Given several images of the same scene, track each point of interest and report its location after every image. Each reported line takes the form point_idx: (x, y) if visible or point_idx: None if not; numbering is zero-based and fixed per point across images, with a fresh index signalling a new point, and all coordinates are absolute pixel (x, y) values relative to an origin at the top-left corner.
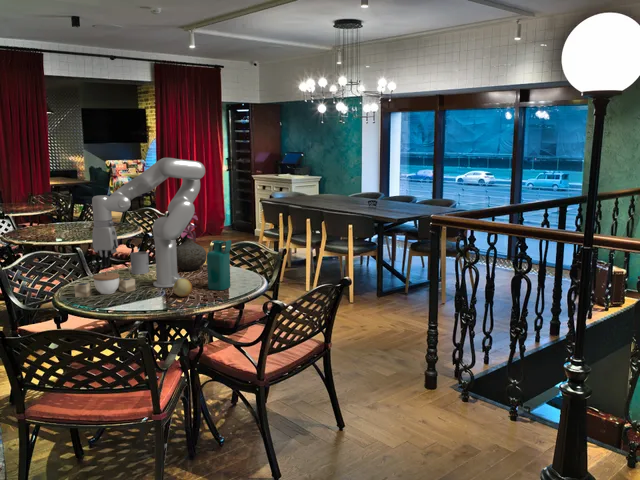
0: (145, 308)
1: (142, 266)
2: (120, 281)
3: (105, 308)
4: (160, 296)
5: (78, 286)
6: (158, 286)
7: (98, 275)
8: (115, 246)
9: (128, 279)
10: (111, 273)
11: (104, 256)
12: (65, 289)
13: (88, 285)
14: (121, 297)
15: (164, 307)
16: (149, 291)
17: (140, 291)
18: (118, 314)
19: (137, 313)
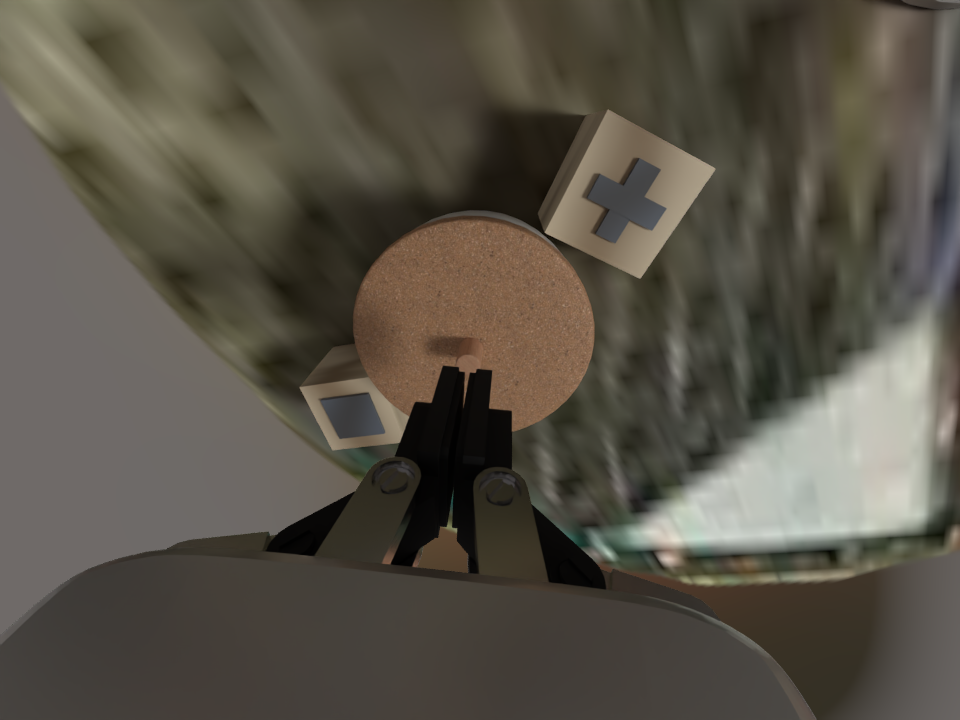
0: (828, 522)
1: None
2: (570, 243)
3: (630, 534)
4: (918, 321)
5: (358, 444)
6: (918, 3)
7: (405, 370)
8: (685, 668)
9: (653, 218)
10: (478, 270)
11: (437, 516)
12: (135, 257)
13: (396, 408)
14: (635, 379)
15: (934, 504)
16: (814, 192)
17: (730, 207)
18: (717, 582)
19: (798, 571)
